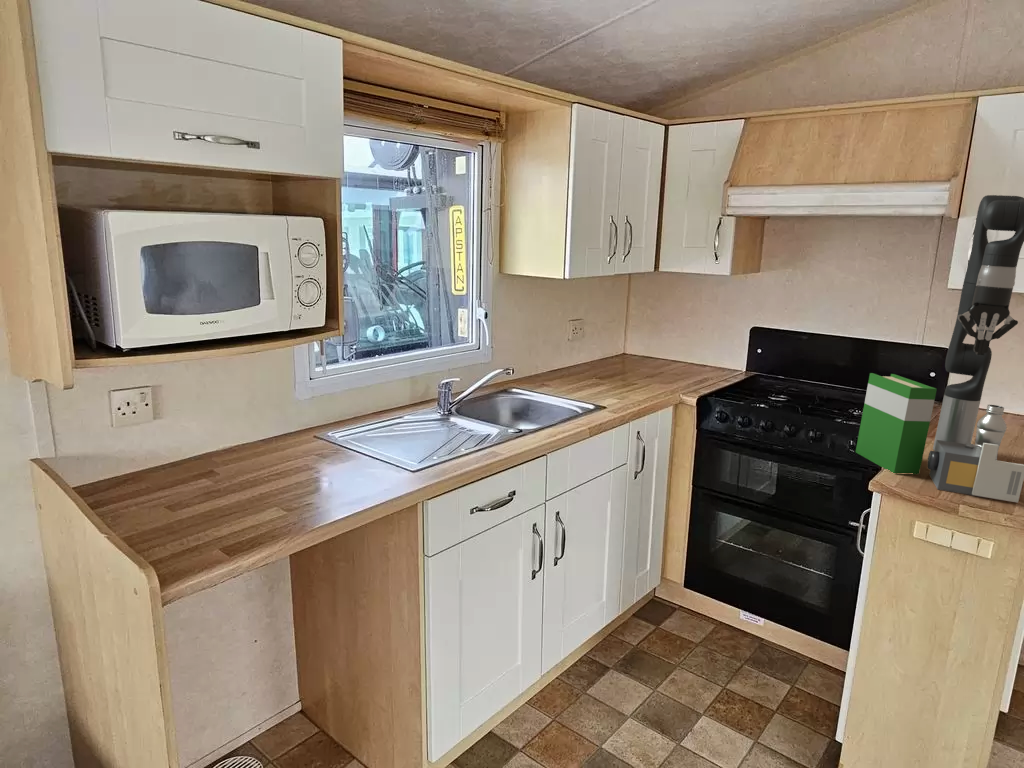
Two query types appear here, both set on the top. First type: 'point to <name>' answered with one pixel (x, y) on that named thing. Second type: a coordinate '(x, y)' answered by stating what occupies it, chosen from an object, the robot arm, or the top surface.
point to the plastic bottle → (991, 427)
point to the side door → (997, 476)
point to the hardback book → (895, 422)
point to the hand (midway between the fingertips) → (979, 354)
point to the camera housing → (954, 466)
